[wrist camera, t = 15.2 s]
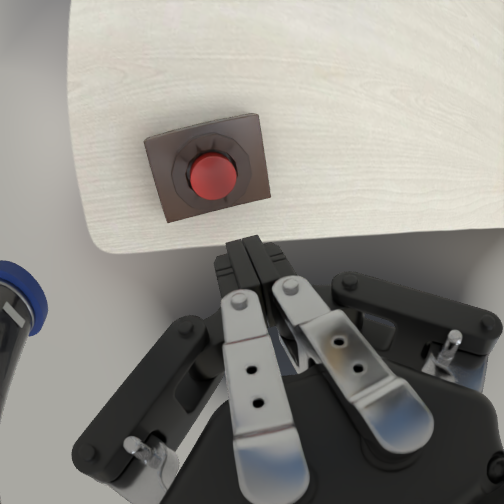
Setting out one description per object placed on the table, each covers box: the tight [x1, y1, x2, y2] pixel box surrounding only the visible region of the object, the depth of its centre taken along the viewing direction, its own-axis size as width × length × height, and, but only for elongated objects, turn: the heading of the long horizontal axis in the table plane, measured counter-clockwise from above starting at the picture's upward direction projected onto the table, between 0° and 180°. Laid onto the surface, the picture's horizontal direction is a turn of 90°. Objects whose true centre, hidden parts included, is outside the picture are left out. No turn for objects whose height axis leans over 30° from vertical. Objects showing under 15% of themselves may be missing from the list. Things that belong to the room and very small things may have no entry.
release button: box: [190, 152, 236, 200], centre depth 22 cm, size 4×4×2 cm
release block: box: [144, 113, 271, 223], centre depth 24 cm, size 10×8×4 cm
